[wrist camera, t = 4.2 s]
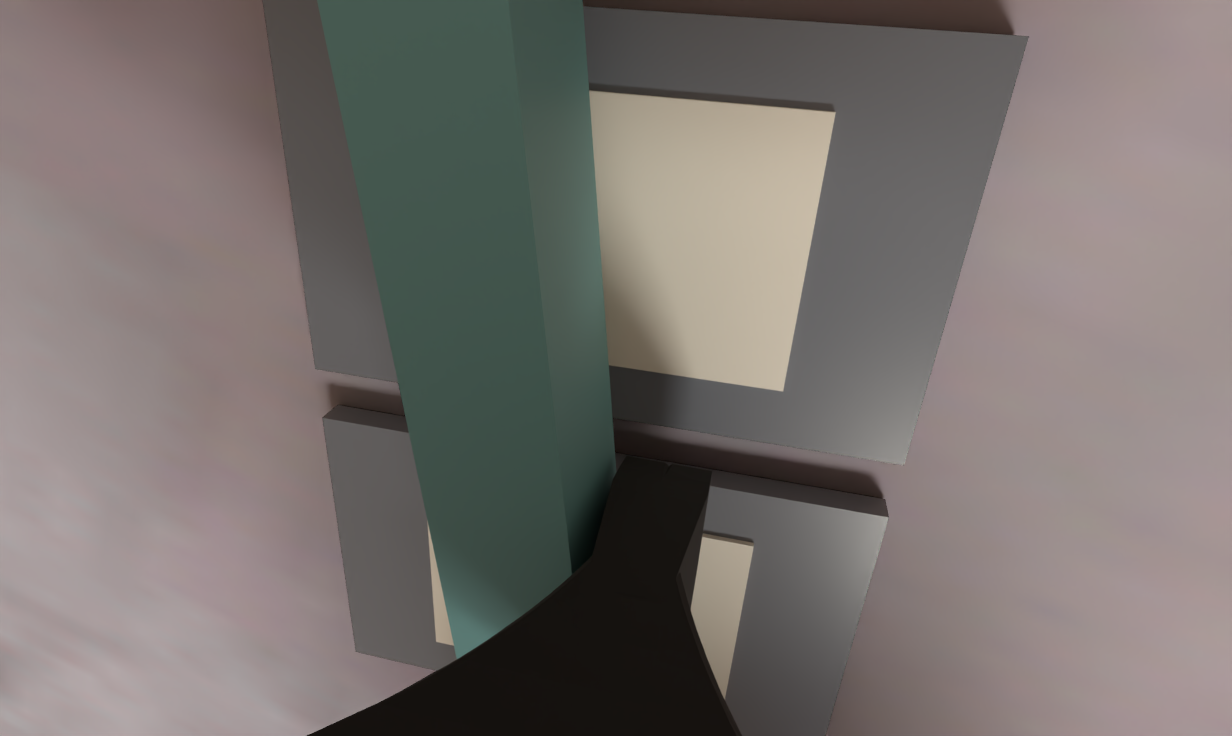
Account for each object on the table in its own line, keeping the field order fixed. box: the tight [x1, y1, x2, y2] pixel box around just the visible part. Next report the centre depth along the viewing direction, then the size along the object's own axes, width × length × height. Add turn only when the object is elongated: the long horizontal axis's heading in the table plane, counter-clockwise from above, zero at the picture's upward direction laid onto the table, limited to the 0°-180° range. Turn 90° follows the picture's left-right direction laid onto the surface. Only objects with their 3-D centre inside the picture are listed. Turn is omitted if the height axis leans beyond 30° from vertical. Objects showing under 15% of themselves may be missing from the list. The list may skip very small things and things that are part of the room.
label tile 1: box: [262, 0, 1029, 466], centre depth 11 cm, size 6×10×1 cm, turn 86°
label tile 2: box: [322, 405, 889, 736], centre depth 14 cm, size 6×10×1 cm, turn 87°
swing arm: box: [317, 0, 616, 659], centre depth 10 cm, size 19×4×4 cm, turn 4°
